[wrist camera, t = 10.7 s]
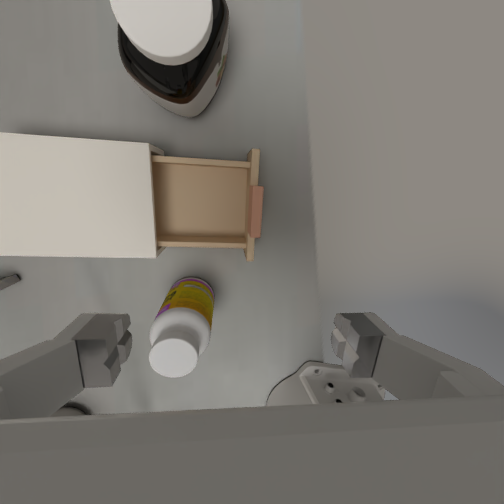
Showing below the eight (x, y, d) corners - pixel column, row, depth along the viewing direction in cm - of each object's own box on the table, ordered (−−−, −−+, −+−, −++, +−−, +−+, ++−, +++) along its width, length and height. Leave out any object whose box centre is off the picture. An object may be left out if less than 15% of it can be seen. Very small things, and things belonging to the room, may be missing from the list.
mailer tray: (254, 155, 30) (266, 144, 21) (249, 247, 33) (258, 272, 25) (119, 145, 28) (70, 129, 19) (129, 245, 31) (92, 270, 23)
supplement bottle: (179, 268, 33) (152, 319, 21) (221, 285, 35) (219, 342, 23) (162, 306, 35) (128, 374, 23) (203, 321, 36) (192, 393, 24)
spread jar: (199, 133, 29) (182, 103, 18) (106, 76, 26) (18, -1, 15) (246, 31, 26) (261, -78, 15) (148, -43, 24) (80, -240, 13)
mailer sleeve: (163, 150, 29) (148, 143, 23) (168, 244, 32) (156, 258, 27) (19, 140, 27) (-36, 129, 21) (41, 241, 30) (-2, 255, 25)
